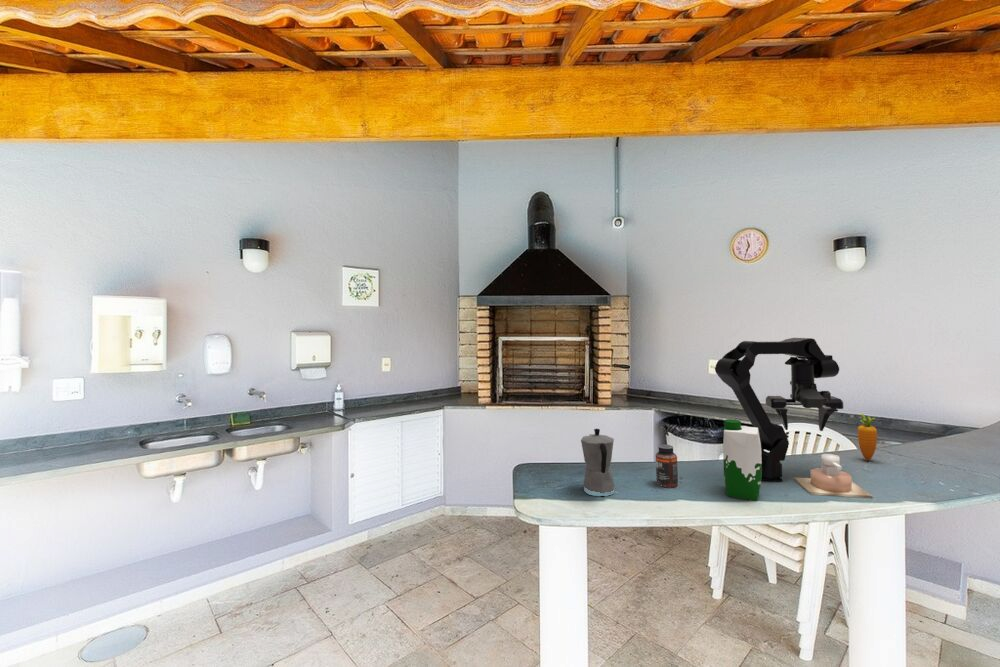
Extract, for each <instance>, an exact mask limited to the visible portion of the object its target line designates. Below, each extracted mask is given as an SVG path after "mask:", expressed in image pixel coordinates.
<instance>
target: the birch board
mask: <svg viewBox="0 0 1000 667" xmlns="http://www.w3.org/2000/svg"><path fill="white" fill-rule="evenodd" d="M793 479H794V481H795V482H796V483H797V484H798V485H799V486H800V487H802V488H803V489H804V490H805V491H806V492H807V493H808V494H811V495H812V496H814V495H815V496H830V497H831V496H832V497H843V498H845V497H846V498H849V497H850V498H863V499H873V495H872V494H870V493H869V492H868V491H866V490H865V489H863V488H862V487H860V486H859V485H857V484H856V483H855V482H853V481H852V490H851V491H850V492H845V493H838V492H830V491H825V490H822V489H819V488H816V487H814V486H813V485H812V484H811V477H797V476H796V477H795V476H793Z"/></svg>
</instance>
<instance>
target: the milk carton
mask: <svg viewBox="0 0 1000 667" xmlns="http://www.w3.org/2000/svg"><path fill="white" fill-rule="evenodd" d="M723 422H724V423H723V425H724V426H723V444H722V448H723V453H722V454H723V456H722V457H723V478H724V484H725V491H726V497H729V498H737V499H741V500H742V499H743V500H749V501H753V502H755V501H756V502H758V500H759V494H760V489H761V484H762V480H761V478H762V457H761V443H760V437H759V431H758V428H756V427H753V426H748V425H742V421H741V420H739V419H731V418H730V419H729V418H727V419H726V418H725V419H724V421H723Z"/></svg>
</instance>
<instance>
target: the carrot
mask: <svg viewBox="0 0 1000 667" xmlns="http://www.w3.org/2000/svg"><path fill="white" fill-rule="evenodd" d="M860 417H861V419H860V420H859V421H860V423H861V424H862V425H859V426H858V427H857V442H858V446H859V449H860V452H861V455H862V456H863V458H864V459H865V461H866V462H869V461H871V459H872V458H873V456H874V455H875V452H876V448H877V443H878V441H877V439H878V430H877V428H876V427H875V426H872V424H873V422H874V421H875V420H876V418H875V417H872V418H871V416H868V415H867V416H865V414H863V413H861V414H860Z"/></svg>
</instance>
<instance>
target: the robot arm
mask: <svg viewBox="0 0 1000 667" xmlns="http://www.w3.org/2000/svg"><path fill="white" fill-rule="evenodd" d="M758 355H785V356H789V359H787V360H786V361H785V362H784V364H785V365H787V366H790V372H791V373H790V376H791V378H790V379H791V380H790V381H789V385H791V386H790V387H791V394H790V396H789V397H790V398H785V397H783V396H781V395H767V396H766V397H765V405H766V406H768V407H769V408H771V409H772V410H775V412H776V413H777V415H778V417H779V419H780V421H781V424H782V425H780V424H776V423H773V422H771V420H770V418H769V416H768V414H767V413H766V411H765V409H764V407H763V405H762V404H761V402H760V400H759V397H758V396H757V394H756V392H755V390H754V389H753V387H752V385H751V375H752V374H751V372H750V370H751V369H752V367H753V366H754V365H755V361H756V357H757V356H758ZM714 370H715V371H714V372H715V373H716V375H717V377H719V378H720V380H721V381H722V382H723V383H724V384H726V385H727V386H728V387H729V388H730V389H732V391H733V393H734V395H735V397H736V398H737V400H738V402H739V403H740V405H741V407H742V409H743V411H744V413H745V414H746V417H747V418H748V419H749V421H750V423H751V426H752V427H756V428H758V431H759V437H760V443H761V457H762V478H761V481H768V482H783V479H782V477H783V464H782V461H785V459H786V456H787V452H788V449H789V445H790V442H789V438H790V436H789V435H787V433H786V432H785V430H786V431H788V428H789V425H788V424H789V422H788V414H787V413H788V411H789V410H788V408H786V406H802V407H803V408H805V409H818V428H819V429H818V430H819V431H820V432H823V431H824V429H825V426H826V424H827V422H828V420H829V418H830V417H831V415H833V413H835V412H836V413H837V412H838V411H839V410H843V409H844V401H843V399H841V398H840V397H839V398H838V397H837V396H832V395H831V392H830V391H829V390H819V391H818V389H817V388H818V387H817V383H815V379H824V378H825V379H826V378H834V377H837V375H838V374H839V372H840V366H839V365H838V362H837V361H836V360H834V358H833V355H830V354H824V352H823V350H822V349H821V347H820V346H819V344H818V342H817V341H816V339H815V338H813V337H812V338H808V337H791V338H785V339H783V340H781V341H754V340H753V341H751V340H743V341H741V342H740V343H738V344H737V346H736V347H734V348H732V350H730V351H728V352H727V353H725V354H724V355H723V356H722V358H720V359H719V360H717V362H716V364H715V367H714Z"/></svg>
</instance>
